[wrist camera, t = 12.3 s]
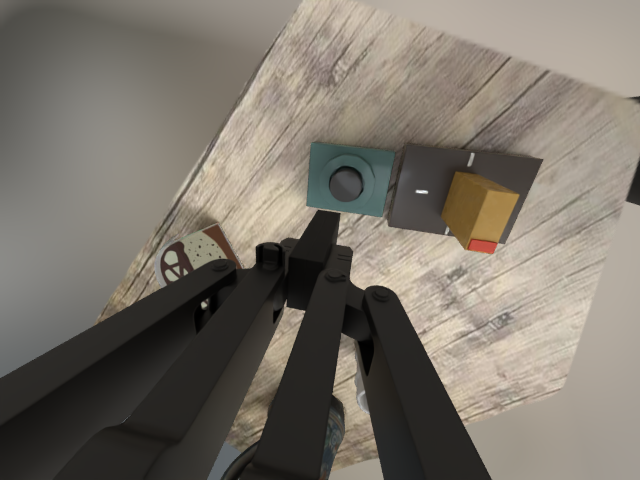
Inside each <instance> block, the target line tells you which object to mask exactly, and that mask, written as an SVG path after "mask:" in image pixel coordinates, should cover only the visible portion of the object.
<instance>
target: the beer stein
mask: <svg viewBox="0 0 640 480" xmlns="http://www.w3.org/2000/svg"><path fill="white" fill-rule="evenodd" d="M275 396H276V395H275ZM274 398H275V397H274ZM273 401H274V399H273V400H272V402H271V403H270V405H269V408H268V415H269V412H270V410H271V407H272V404H273ZM268 415H267V416H268ZM344 434H345V424H344V411H343V406H342V403H341V402H340V401H339V400H338V399H337V398H335V397H334V396H333V395H332V399H331V406H330V413H329V419H328V426H327V433H326V440H325V446H324V453H323V460H322V466H321V473H320V480H328V478H329V475H330V471H331V468H332V464H333V461H334V458H335V456H336V453H337V450H338V448H339V446H340V444H341V442H342V440H343V438H344ZM258 443H259V440H258V441H257V442H256V443H254V444H253V445H251V446H250V447H248V448H247V449H246V450H245V451H244V452H243V453H241V454H240V455H239V456H238V457H237V458H236V459H235V460H234V461H233V462H232V463H231V465H230V466H229V467H228V468H227V470H226V471H225V472H224V474H223V476H222V478H221V480H238V479H239V478H240V476H241V474H242V472H243V471H244V469H245V467H246V466H247V465H248V464H249V463H250V462H251V461H252V459H253V457H254V454H255V452H256V449H257V446H258Z"/></svg>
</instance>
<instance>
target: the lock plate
mask: <svg viewBox="0 0 640 480" xmlns="http://www.w3.org/2000/svg"><path fill="white" fill-rule="evenodd" d="M542 162H543V159H540V158H535V157H530V156H521V155H512V154H503V153H494V152H485V151H476V150H466V149H457V148H448V147H439V146H430V145H421V144H412V143H404V147H403V152H402V156H401V161H400V165H399V170H398V174H397V179H396V183H395V188H394V192H393V197H392V201H391V206H390V210H389V215H388V219H387V220H388V226H389V227H395V228H402V229H408V230H415V231H421V232H428V233H435V234H441V235H448V236H454V234H453V233H452V232H451V230H450V229H449V228H448V226H447V225H446V223H445V222H444V221H443V219H442V218H441V214H442V211H443V208H444V205H445V202H446V199H447V196H448V193H449V190H450V187H451V184H452V181H453V177H454V174H455V172H456V171H457V172H465V173H472V174H478V175H480V176H482V177H484V178H487V179H489V180H491V181H493V182H495V183H497V184H499V185H501V186H503V187H505V188H508V189H510V190H512V191H514V192H516V193H518V194H520V195H519V197H518V200H517V202H516V204H515V206H514V208H513V211H512V213H511V215H510V217H509V220H508V222H507V224H506V226H505V228H504V231H503V233H502V235H501V237H500V239H499V242H498V243H501V244H505V243H506V240H507V238H508V236H509V234H510V232H511V230H512V227H513V225H514V223H515V221H516V219H517V216H518V214H519V212H520V210H521V208H522V205H523V203H524V201H525V199H526V197H527V194H528V192H529V190H530V188H531V186H532V184H533V181H534V179H535V177H536V175H537V173H538V170H539V168H540V166H541V164H542ZM454 237H455V236H454Z"/></svg>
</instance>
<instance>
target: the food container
mask: <svg viewBox="0 0 640 480" xmlns="http://www.w3.org/2000/svg"><path fill="white" fill-rule="evenodd" d="M179 235H180V234H177V235H175V236H173V237H172V238H171V239H169V240H168V241H167V242H166V243H165V244H164V245H163V247H162V248H161V249H160V251H159V253H158V254H157V257H156V259H155V274H156V278H157V280H158V283H159V285H160V286H161V288H163V287H165V286H166V285H168V284H170V283H172V282H173V281H175V280H177V279H179V278H181V277H182V276H184V275H186V274H188V273H190V272H191V271H193V270H195V269H197V268H199V267H200V266H202V265H204V264H206V263H208V262H210V261H212V260H215V259H220V258H222V259H223V258H224V259H230V260H232V261H234V262H235V263H236V266H237V269H244V267H243V266H242V264H241V262H240V260H239V258H238V256H237V255H236V253H235V251H234V249H233V247H232V246H231V244H230V242H229V240H228V238H227V237H226V235H225V233H224V231H223V229H222V228H221V226H220V224H219V222H218V223H215V224H213V225H211V226H208V227H206V228H204V229H201V230H199V231H197V232H194V233H192V234H190V235H187V236H185V237H183V238H180V239H178V240H176V241H174V240H175V239H176V238H177V237H178V236H179ZM207 305H208V300H205V301H204V302H203V303H201V306H202V308H204V307H206V306H207Z"/></svg>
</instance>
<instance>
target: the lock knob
mask: <svg viewBox="0 0 640 480" xmlns="http://www.w3.org/2000/svg"><path fill="white" fill-rule="evenodd" d="M519 195H520V194H518V193H516V192H514V191H512V190H510V189H508V188H505V187H503V186H501V185H499V184H497V183H495V182H493V181H491V180H489V179H487V178H484V177H482V176H480V175H478V174H472V173H465V172H457V171H456V172H455V174H454V177H453V181H452V184H451V187H450V190H449V193H448V196H447V199H446V202H445V205H444V208H443V211H442V214H441V218H442V219H443V221H444V222H445V223H446V225H447V226H448V228H449V229H450V230H451V232H452V233H453V234H454V236H455V237H456V238H457V240H458V241H459V242H460V244H461V245H462V246H463V248H464V249H465V250H470V251H476V252H482V253H488V254H493V253H494V251H495V249H496V246H497V244H498V242H499V239H500V237H501V235H502V233H503V231H504V228H505V226H506V224H507V222H508V220H509V217H510V215H511V213H512V211H513V208H514V206H515V204H516V202H517V200H518V197H519Z"/></svg>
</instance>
